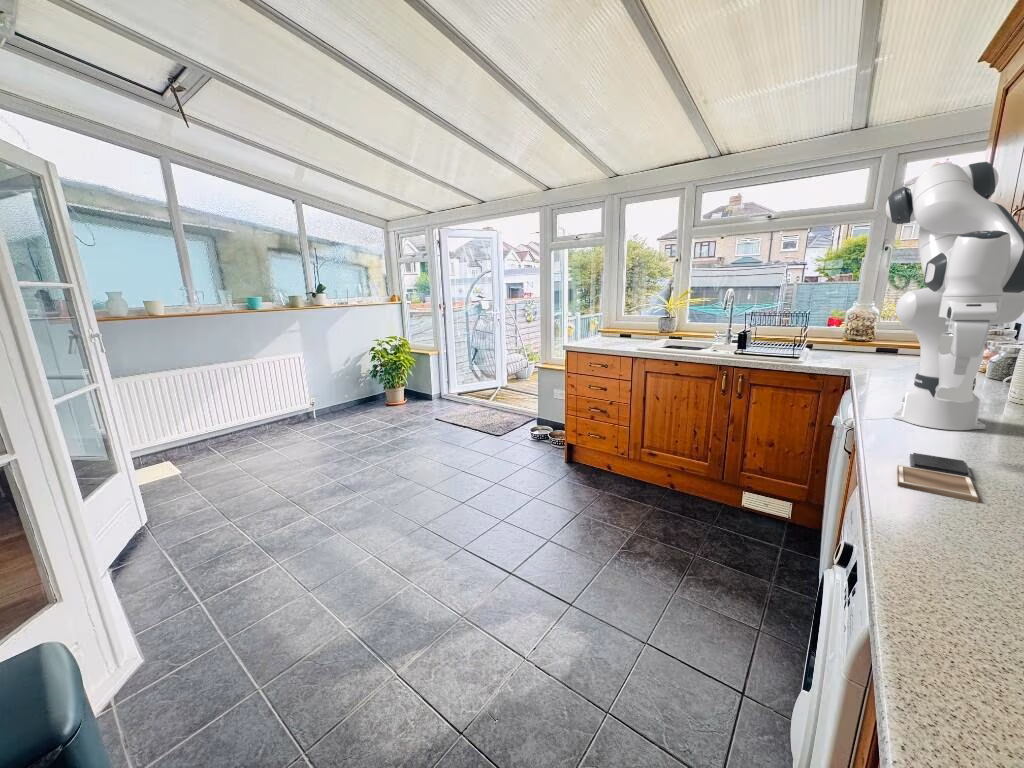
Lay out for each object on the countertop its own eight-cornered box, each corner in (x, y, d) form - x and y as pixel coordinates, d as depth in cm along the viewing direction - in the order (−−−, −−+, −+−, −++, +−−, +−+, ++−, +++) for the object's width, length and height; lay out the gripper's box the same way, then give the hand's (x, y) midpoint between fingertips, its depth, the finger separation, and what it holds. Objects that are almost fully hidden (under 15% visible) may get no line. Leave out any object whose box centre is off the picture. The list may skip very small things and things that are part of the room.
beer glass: (985, 402, 89) (996, 333, 86) (947, 403, 91) (956, 335, 88) (958, 395, 96) (968, 331, 93) (923, 396, 98) (931, 332, 95)
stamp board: (897, 468, 92) (897, 464, 91) (970, 481, 84) (970, 477, 84) (897, 486, 84) (898, 481, 84) (978, 502, 76) (979, 497, 76)
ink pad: (909, 457, 97) (910, 451, 97) (965, 466, 91) (966, 460, 91) (910, 470, 91) (911, 463, 90) (971, 481, 85) (972, 474, 84)
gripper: (943, 306, 99) (933, 363, 102) (952, 312, 84) (940, 378, 87) (982, 306, 95) (971, 365, 98) (999, 312, 80) (985, 381, 83)
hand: (956, 371), depth 92 cm, fingers closed on beer glass, 6 cm apart
